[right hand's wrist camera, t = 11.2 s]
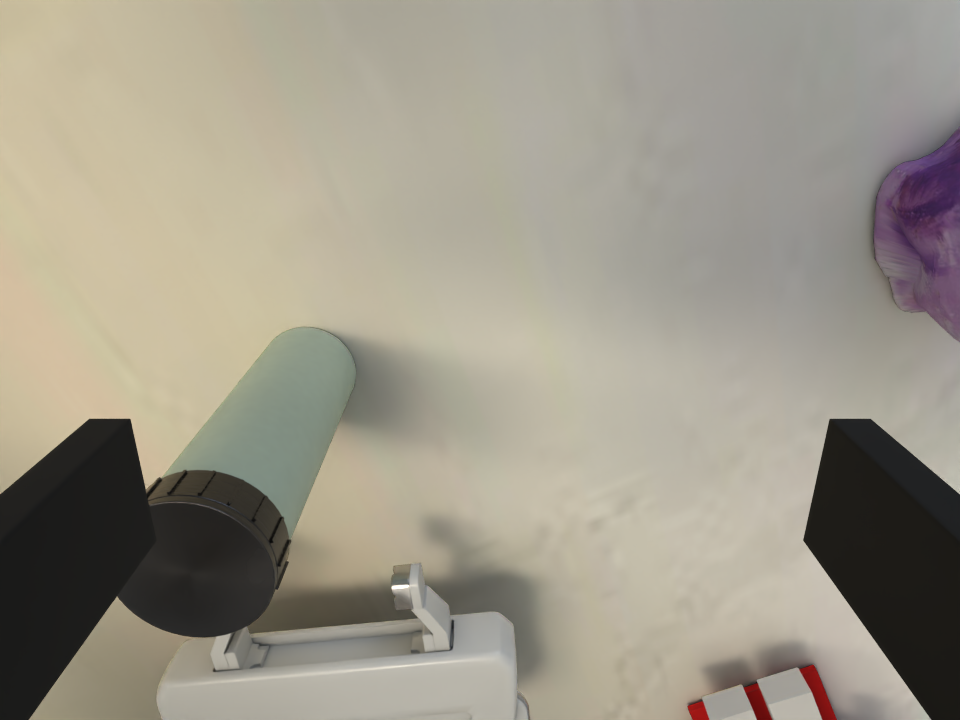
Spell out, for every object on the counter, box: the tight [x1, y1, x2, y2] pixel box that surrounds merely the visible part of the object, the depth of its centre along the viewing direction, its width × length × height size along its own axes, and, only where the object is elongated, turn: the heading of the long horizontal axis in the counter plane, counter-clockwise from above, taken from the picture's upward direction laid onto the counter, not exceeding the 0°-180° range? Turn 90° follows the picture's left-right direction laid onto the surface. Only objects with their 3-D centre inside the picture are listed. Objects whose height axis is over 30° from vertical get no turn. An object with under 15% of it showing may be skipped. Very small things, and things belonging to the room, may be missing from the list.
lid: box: [117, 470, 291, 637], centre depth 23 cm, size 6×6×2 cm
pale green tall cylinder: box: [162, 327, 356, 539], centre depth 31 cm, size 5×5×17 cm
